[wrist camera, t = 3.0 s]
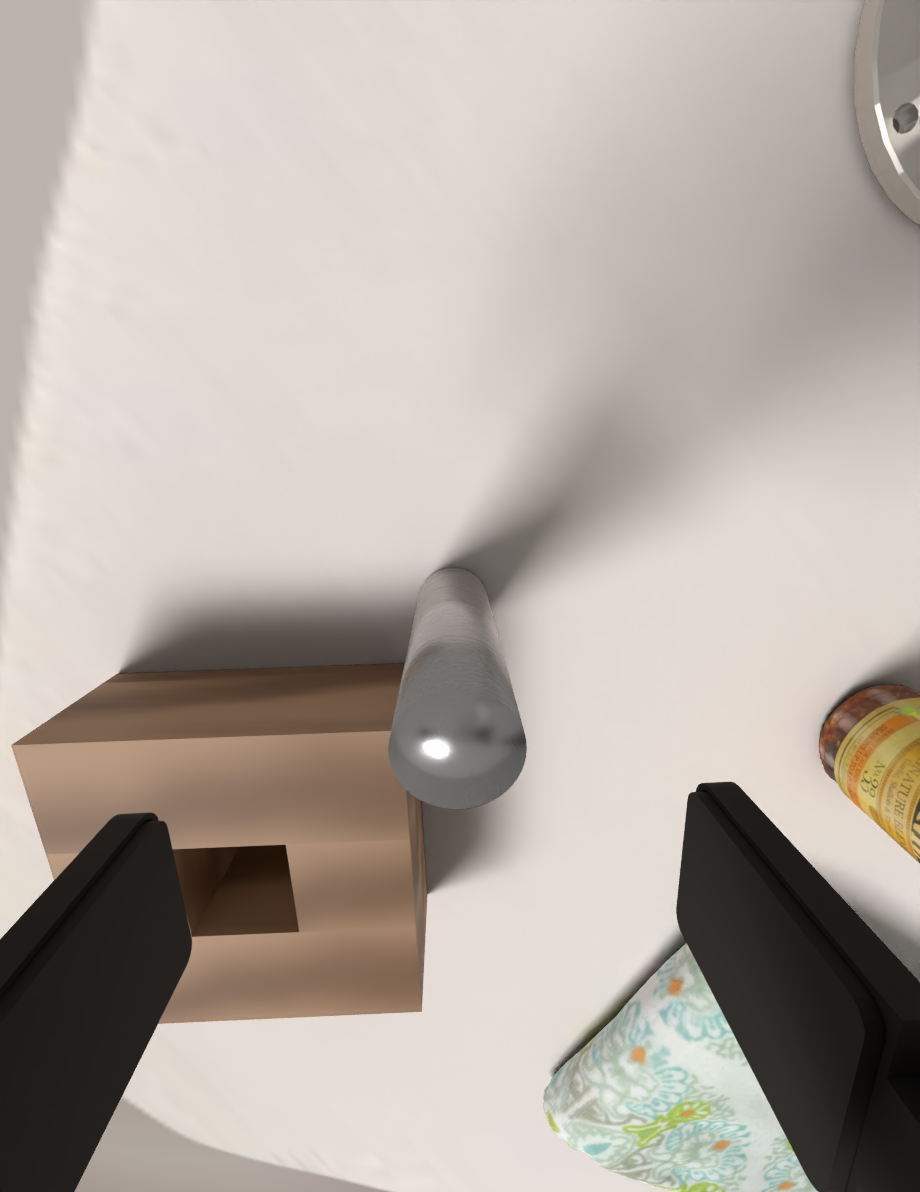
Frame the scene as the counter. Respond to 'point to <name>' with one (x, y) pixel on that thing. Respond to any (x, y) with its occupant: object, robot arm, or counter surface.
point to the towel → (673, 1096)
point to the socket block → (255, 829)
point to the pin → (455, 700)
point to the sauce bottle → (879, 758)
